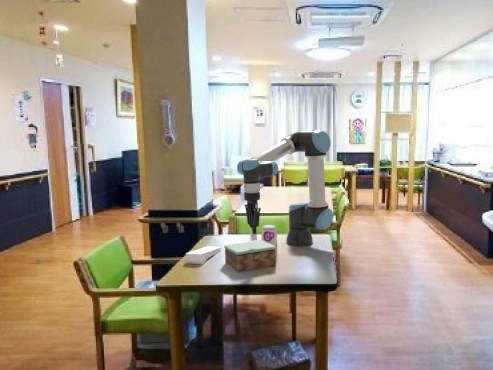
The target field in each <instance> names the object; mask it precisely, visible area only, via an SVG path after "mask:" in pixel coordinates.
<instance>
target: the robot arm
mask: <svg viewBox="0 0 493 370" xmlns="http://www.w3.org/2000/svg"><path fill="white" fill-rule="evenodd" d="M330 148H331V139H330V136H329V134H328V133H327V132H326V131H324V130H317V129H315V130H299V131H297V132H294V133H291V134H289V135H287V136H285V137H284V138H282V139H281V141H280V142H279V143H277V144H275V145H273V146H271V147H269V148H267V149H266V150H264V151H262V152H260V153H258V154H256V155H255V156H253V157H251V158H246V159H242V160H240V161H239V162H238V163H237V165H236V170H237V172H238V174H240V175H241V176H243V186H242V187H243V190H244V193H243V197H244V198H243V199H244V201H246V203H245V204H244V207H245V214H246V215H245V216H246V221H247V225H249V231H250V232H249V233H250V242H252V241H258V233H257V232H258V231H257V230H258V229H257V227H259V226H260V217H261V216H260V214H261V209H262V208H261V207H259V203H258V201H259V200H261V192H260V190H261V188H260V187H261V184H260V183H261V181H260V179H262V178H271V177H274V176H276V175H277V174H278V173H279V166H278V164H277V162H276V161H278V160H280V159H281V158H284V157H286V155H293V154H294V153H299V152H300V153H301V152H303V153H304V157H305V158H306V159H307V170H308V171H307V173H308V191H309V192H308V193H309V202H298V203H297V202H296V203H292V204H290V205H289V207H288V220H289V221H288V223H289V225H288V227H289V230H288V231H287V232H288V233H287V235H286V244H287V245H290V246H302V247H303V246H308V245H311V244H313V236H312V233H311V230H310V228H312V229H317V230H327V229H328V228H329V227H330V226H331V225H332V223H333V220H334V212H333V210H332V209H331V208H329V203H328V202H327V201H326V186H325V185H326V183H325V181H326V180H325V157H326V156H327V152H329V151H330Z"/></svg>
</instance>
